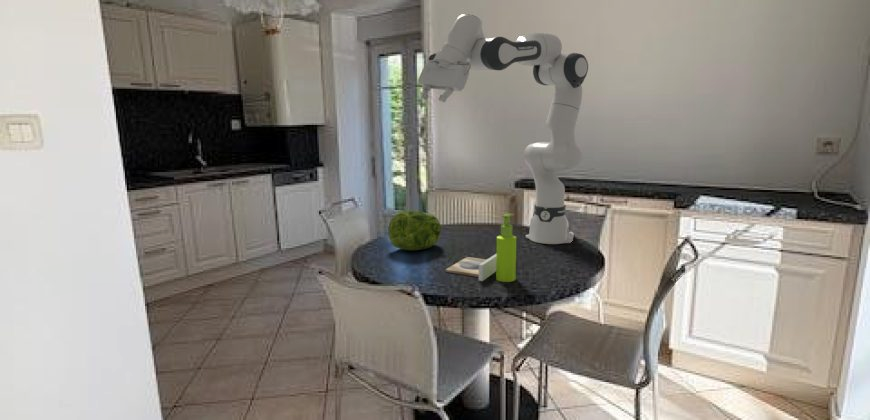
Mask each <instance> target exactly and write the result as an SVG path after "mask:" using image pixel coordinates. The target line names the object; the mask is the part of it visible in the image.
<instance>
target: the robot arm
mask: <svg viewBox="0 0 870 420" xmlns="http://www.w3.org/2000/svg"><path fill="white" fill-rule="evenodd" d="M482 25H483V21H482V20H481V18H479V17H478V16H476V15H474V14H468V13H466V14H461V15H459V16H458V17H457V19H456V20H455V22H454V23H453V25H452V26H451V29H450V31H449V32H448V34H447V39H446V41H445V43H444V44H443V45H442V47H441V48H440V50H438V51H436V52H435V53H433V54H430V55H428V56H427V59H426V61H427V63H425V65H424V66H423V68H422V70H421V72H420V74H419V77H418V79H417V80H418V84H419V85H420V86H421V87H422V93H421V96H420V98H421V99H422V100H423V101H428V99H429V97H430V95H429V92H430V91H431V90H442V91H444V92H443V93H442V94H440V95H439V97H438V101H439V102H440V103H446V101H447V99H448V98H450V96H451V95H452V94H453V93H454V92H461V91H462V90H464V89H465V87H466V85H467V81H468V78H469V75H470V70H477V71H479V70H482V71H485V70H487V71H488V70H489V71H491V70H492V71H503V70H505V69H507V68H508V67H510V66H511V65H512V64H515V63H518V64H519V65H521V66H531V67H532V66H533V69H532V75H533V78H534V81H536V83H537V84H539V85H542V86H554V88H555V89H554V90H555V91H554V93H553V97H552V98H551V99H552V100H551V103H550V106H549V110H548V115H547V118H546V121H545V126H546V128H547V130H548V131H550V141H549V142H548V141H538V142H533V143H529V145H527V146H526V148H525V149H524V151H523V152H524V153H523V160H524V163H525V164H526V166H528V168H529V169H530V171H531V174H532V175H533V176H532V177H533V180H534V186H535V204H534V208H533V212H534V215H533V216H531V218H530V219H529V220H530V221H529V233H528V234H525V238H526V239H529V240H530V241H532V242H534V243H538V244H546V245H559V244H572V243H573V242H572V241H574V236H575V235H574V232H573V231H571V230H570V229H569V227H570V226H569V225H570V223H569V220H568V219H567V217H566V210H567V208H566V204H565V191H566V188H565V185H564V183H563V182H562V181H561V180H560V179H559V177H558V175H557V172H562V173H566V172H572V171H575V170H577V169H578V168H579V166H580V165H581V163H582V152H581V149H580V148H579V147H578V145H577V143H576V140H575V129H576V126H577V125H576V124H577V121H578V120H577V119H578V118H579V117H578V116H579V113H580V109H581V105H582V99H583V98H582V97H583V86H582V84H583V83H584V81H585V79H586V77H587V74H588V71H589V63H588V60H587V58H586V57H585V55H584V54H581V53H577V52H572V53H562V49H563V45H562V42H561V39H560V38H559V36H557V35H555V34H552V33H544V32H535V33H527V34H524V35H520V36H518V38H517V39H516V40H515V41H512V40H510V39H508V38H506V37H504V36H496V37H495V36H494V37H491V38H486V36H485V34H484V30H483V27H482ZM571 242H572V243H571Z"/></svg>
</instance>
